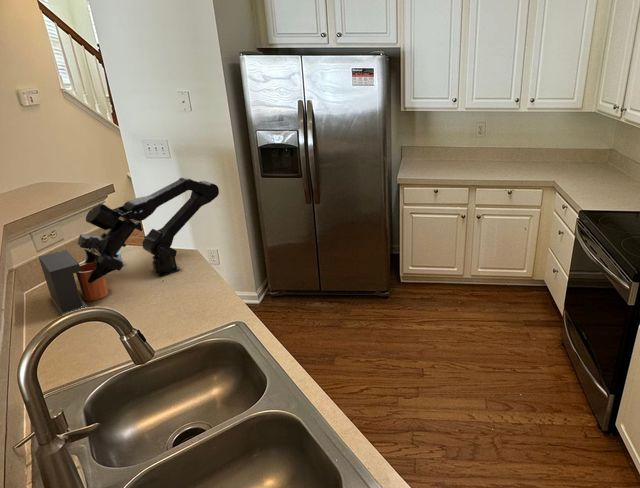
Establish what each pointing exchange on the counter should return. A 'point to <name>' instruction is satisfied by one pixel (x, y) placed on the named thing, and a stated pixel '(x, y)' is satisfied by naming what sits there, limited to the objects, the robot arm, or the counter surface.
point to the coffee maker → (62, 280)
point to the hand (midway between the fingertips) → (85, 278)
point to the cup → (91, 289)
